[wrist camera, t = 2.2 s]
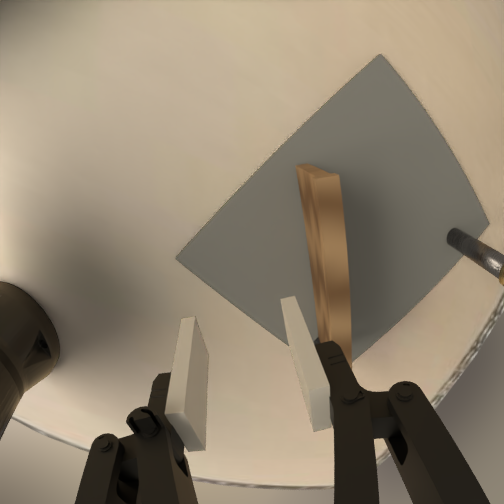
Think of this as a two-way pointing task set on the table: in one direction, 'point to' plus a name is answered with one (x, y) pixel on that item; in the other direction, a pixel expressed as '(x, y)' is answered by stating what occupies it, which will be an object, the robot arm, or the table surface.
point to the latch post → (477, 252)
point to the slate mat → (345, 213)
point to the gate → (327, 254)
